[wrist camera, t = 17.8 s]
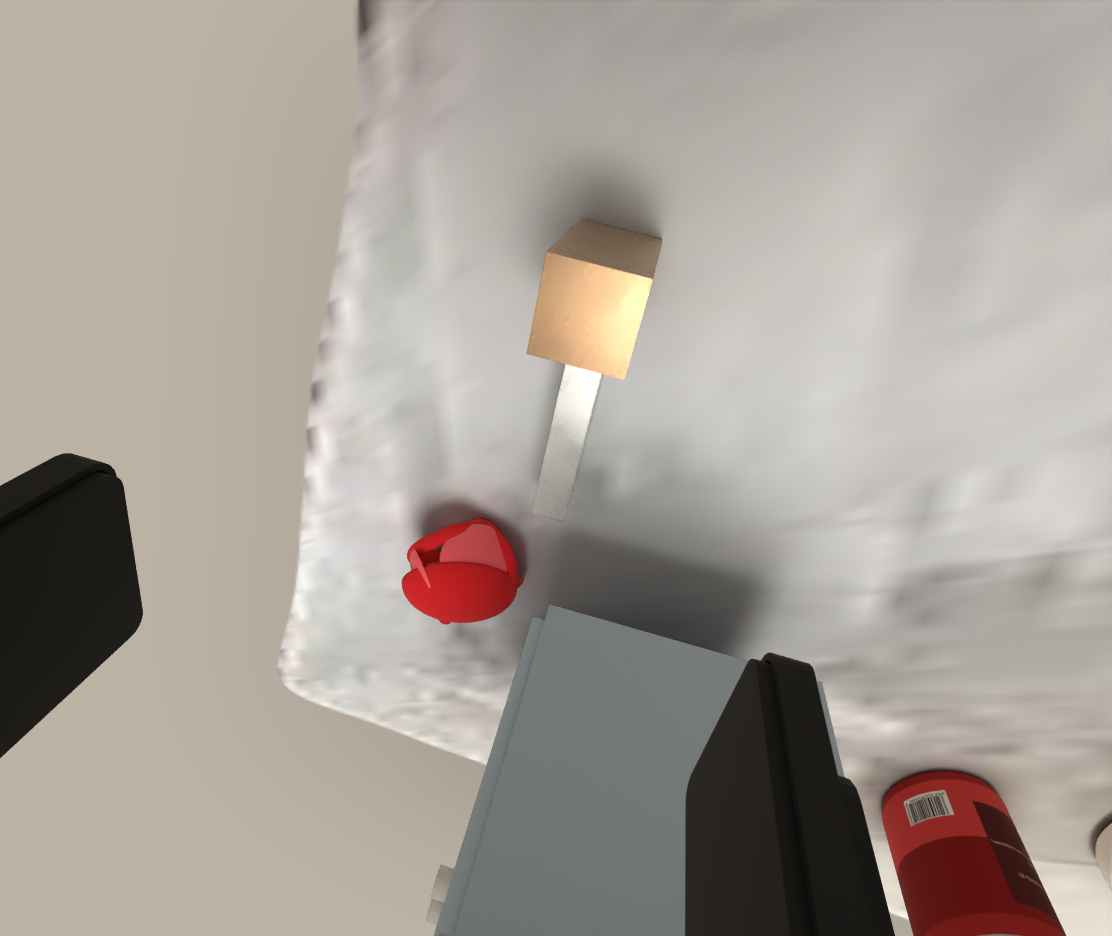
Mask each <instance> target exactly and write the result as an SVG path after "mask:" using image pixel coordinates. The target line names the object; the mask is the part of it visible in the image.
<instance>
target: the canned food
mask: <svg viewBox="0 0 1112 936" xmlns="http://www.w3.org/2000/svg"><path fill="white" fill-rule="evenodd" d="M882 821H883V825H884V829H885V832H886V836H887V840H888V843H889V847H890V851H891V854H892V858H893V862H894V865H895V869H896V873H897V876H898V880H899V884H900V888H901V891H902V895H903V899H904V902H905V906H906V910H907V913H908V917H909V921H910V924H911V928H912V932H913V935H914V936H1066V934H1065V932H1064V930H1063V928H1062V926H1061V924H1060V921H1059V919H1058V917H1057V915H1056V913H1055V911H1054V909H1053V906H1052V904H1051V902H1050V900H1049V898H1048V896H1047V894H1046V892H1045V889H1044V887H1043V885H1042V883H1041V881H1040V879H1039V877H1038V874H1037V872H1036V870H1035V868H1034V866H1033V864H1032V862H1031V859H1030V857H1029V855H1028V853H1027V851H1026V849H1025V847H1024V845H1023V842H1022V840H1021V838H1020V836H1019V834H1018V832H1017V830H1016V827H1015V825H1014V823H1013V821H1012V819H1011V817H1010V815H1009V812H1008V810H1007V808H1006V806H1005V804H1004V803H1003V801H1002V799H1001V798H1000V797H999V796H998V795H997V794H996V792H995V791H994V790H993V789H992V788H991V787H990V786H989V785H988V784H987V783H985V782H983V781H982V780H980V779H978V778H976V777H973V776H971V775H967V774H963V773H959V772H950V771H934V772H927V773H922V774H918V775H914V776H912V777H909V778H907V779H905V780H903V781H901V782H900V783H898V784H897V785H895V786H894V787H893V788H892V789H891V790H890V791H889V792H888V794H887V795H886V797H885V799H884V802H883V812H882Z"/></svg>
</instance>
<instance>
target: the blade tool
mask: <svg viewBox="0 0 1112 936" xmlns="http://www.w3.org/2000/svg"><path fill="white" fill-rule="evenodd" d="M661 243H662V239H659V238H655V237H651V236H647V235H643V234H639V233H635V232H632V231H628V230H624V229H620V228H616V227H612V226H608V225H604V224H600V223H596V222H592V221H588V220H584V219H582V220H581V221H580V222H579V223H577V224H576V225H575V226H574V227H573V228H572V229H571V230H570V231H569V232H568V233H566V234H565V235H564V236H563V237H562V238H561V239H560V240H559V241H558V242H557V243H556V244H554V245H553V246H552V247H551V248H550V249H549V250H548V251H547V252H546V257H545V262H544V268H543V273H542V278H541V283H540V288H539V293H538V298H537V303H536V308H535V314H534V319H533V324H532V329H531V334H530V339H529V344H528V349H527V354H530V355H533V356H537V357H541V358H545V359H548V360H552V361H556V362H559V363H563V364H565V369H564V373H563V377H562V382H561V386H560V390H559V395H558V399H557V403H556V408H555V412H554V416H553V421H552V425H551V430H550V434H549V438H548V443H547V447H546V451H545V456H544V460H543V464H542V469H541V473H540V477H539V482H538V486H537V491H536V495H535V499H534V504H533V508H532V512H531V513H533V514H537V515H541V516H544V517H548V518H551V519H555V520H558V521H562V522H563V519H564V516H565V513H566V510H567V507H568V504H569V500H570V497H571V494H572V491H573V487H574V483H575V480H576V476H577V472H578V468H579V464H580V461H581V457H582V453H583V449H584V445H585V442H586V438H587V434H588V430H589V426H590V423H591V419H592V415H593V411H594V407H595V404H596V400H597V396H598V392H599V388H600V385H601V381H602V377H603V374H604V375H608V376H612V377H616V378H619V379H623V380H625V376H626V373H627V369H628V366H629V362H630V359H631V355H632V351H633V348H634V344H635V341H636V337H637V334H638V330H639V327H640V323H641V320H642V316H643V313H644V309H645V305H646V302H647V298H648V295H649V291H650V288H651V284H652V281H653V277H654V272H655V268H656V264H657V260H658V256H659V251H660V247H661Z"/></svg>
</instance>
